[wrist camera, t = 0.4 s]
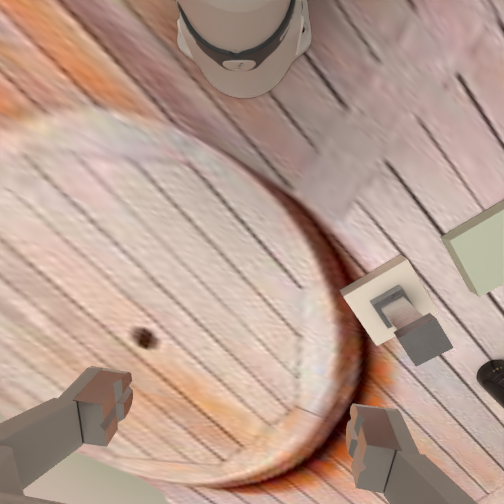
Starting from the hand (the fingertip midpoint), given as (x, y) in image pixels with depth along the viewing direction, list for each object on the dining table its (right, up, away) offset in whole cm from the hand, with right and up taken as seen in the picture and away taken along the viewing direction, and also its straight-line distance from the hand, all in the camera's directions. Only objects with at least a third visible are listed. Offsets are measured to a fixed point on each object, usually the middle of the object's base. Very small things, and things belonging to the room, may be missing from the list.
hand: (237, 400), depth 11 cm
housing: (+25, -4, +39) cm, 47 cm away
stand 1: (+25, -3, +42) cm, 48 cm away
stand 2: (+41, +7, +38) cm, 56 cm away
